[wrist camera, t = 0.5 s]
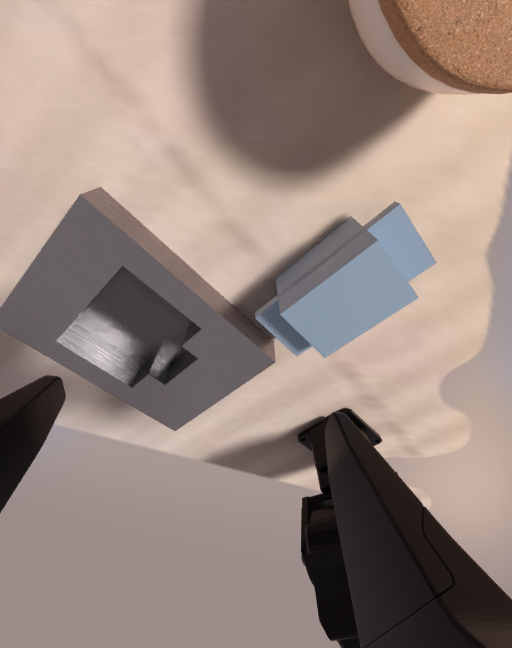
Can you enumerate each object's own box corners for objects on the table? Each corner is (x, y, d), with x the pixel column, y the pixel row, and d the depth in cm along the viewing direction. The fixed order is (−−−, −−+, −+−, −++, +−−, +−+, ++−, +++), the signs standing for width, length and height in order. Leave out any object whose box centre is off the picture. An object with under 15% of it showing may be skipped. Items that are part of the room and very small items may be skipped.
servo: (422, 261, 20) (465, 294, 16) (304, 343, 24) (314, 386, 20) (378, 193, 18) (415, 211, 14) (255, 295, 22) (254, 333, 18)
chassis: (273, 342, 24) (275, 362, 22) (180, 409, 29) (175, 431, 27) (100, 187, 18) (80, 194, 16) (15, 304, 22) (-10, 322, 20)
